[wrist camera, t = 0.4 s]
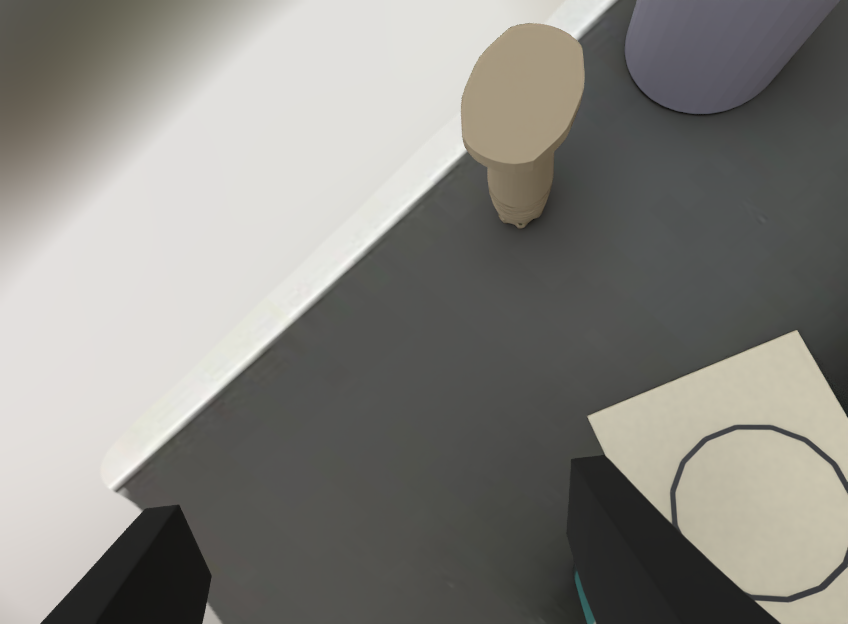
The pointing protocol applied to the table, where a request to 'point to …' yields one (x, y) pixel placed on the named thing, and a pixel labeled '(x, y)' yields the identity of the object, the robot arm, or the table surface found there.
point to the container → (715, 48)
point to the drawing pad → (748, 473)
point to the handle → (522, 114)
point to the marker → (583, 598)
